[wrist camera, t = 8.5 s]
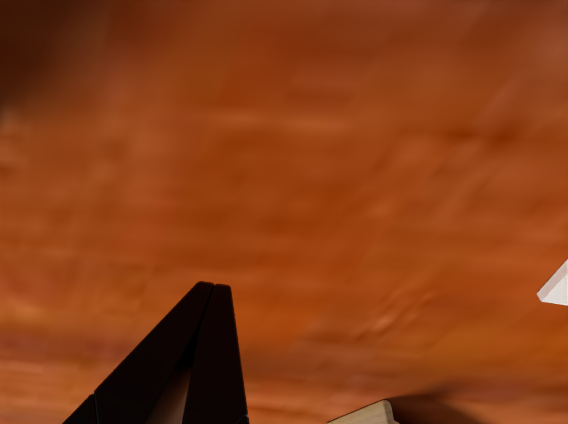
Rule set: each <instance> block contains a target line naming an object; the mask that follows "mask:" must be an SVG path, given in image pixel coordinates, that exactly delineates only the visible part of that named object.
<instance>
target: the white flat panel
mask: <svg viewBox="0 0 568 424" xmlns="http://www.w3.org/2000/svg"><path fill="white" fill-rule="evenodd" d="M537 295H538V297H539V298H540V300H541V301H542V302H549V303H555V304H561V305H568V259H567V260H566V261H565V262H564V264H563V265H562V266H561V267H560V268H559V269H558V270H557V271H556V272H555V274H554V275H553V276H552V277H551V278H550V279H549V280H548V281H547V283H546V284H545V285H544V286H543V287H542V288H541V289H540V290H539V292H538V293H537Z"/></svg>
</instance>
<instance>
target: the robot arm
mask: <svg viewBox="0 0 568 424" xmlns="http://www.w3.org/2000/svg"><path fill="white" fill-rule="evenodd" d="M182 418H183V419H182ZM181 421H182V424H249V418H248V410H247V403H246V395H245V388H244V380H243V373H242V366H241V358H240V351H239V344H238V336H237V329H236V321H235V314H234V307H233V299H232V292H231V287H230V286H229V285H224V284H215V285H214V283H211V282H204V281H199V282H198V283H196V284H195V285H194V287H193V288H192V289H191V290H190V291H189V292H188V293H187V294H186V295H185V296H184V297H183V298H182V299H181V300H180V301H179V302H178V303H177V304H176V305H175V306H174V308H173V309H172V310H171V311H170V312H169V313H168V314H167V315H166V316H165V317H164V318H163V319H162V320H161V321H160V322H159V323H158V324H157V325H156V326H155V327H154V328H153V330H152V331H151V332H150V333H149V334H148V335H147V336H146V337H145V338H144V339H143V340H142V341H141V342H140V343H139V344H138V345H137V346H136V347H135V348H134V349H133V351H132V352H131V353H130V354H129V355H128V356H127V357H126V358H125V359H124V360H123V361H122V362H121V363H120V364H119V365H118V366H117V367H116V368H115V369H114V370H113V372H112V373H111V374H110V375H109V376H108V377H107V378H106V379H105V380H104V381H103V382H102V383H101V384H100V385H99V386H98V387H97V388H96V389H95V390H94V394H91V395H89V396H88V398H87V399H86V400H85V401H84V402H83V403H82V404H81V405H80V406H79V407H78V408H77V409H76V410H75V411H74V412H73V413H72V414H71V415H70V416H69V417H68V418H67V419H66V420H65V421H64V422H63V423H62V424H181Z"/></svg>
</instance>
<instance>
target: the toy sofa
mask: <svg viewBox="0 0 568 424" xmlns="http://www.w3.org/2000/svg"><path fill="white" fill-rule="evenodd" d="M327 424H400V423H398V422H396V421H394V419H393V413H392V408H391V404H390V402H388V401H387V400H382V401H379V402H377V403H375V404H372V405H369V406H367V407H365V408H362V409H360V410H357V411H355V412H353V413H350V414H348V415H345V416H343V417H341V418H338V419H336V420H334V421H331V422H329V423H327Z"/></svg>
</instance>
